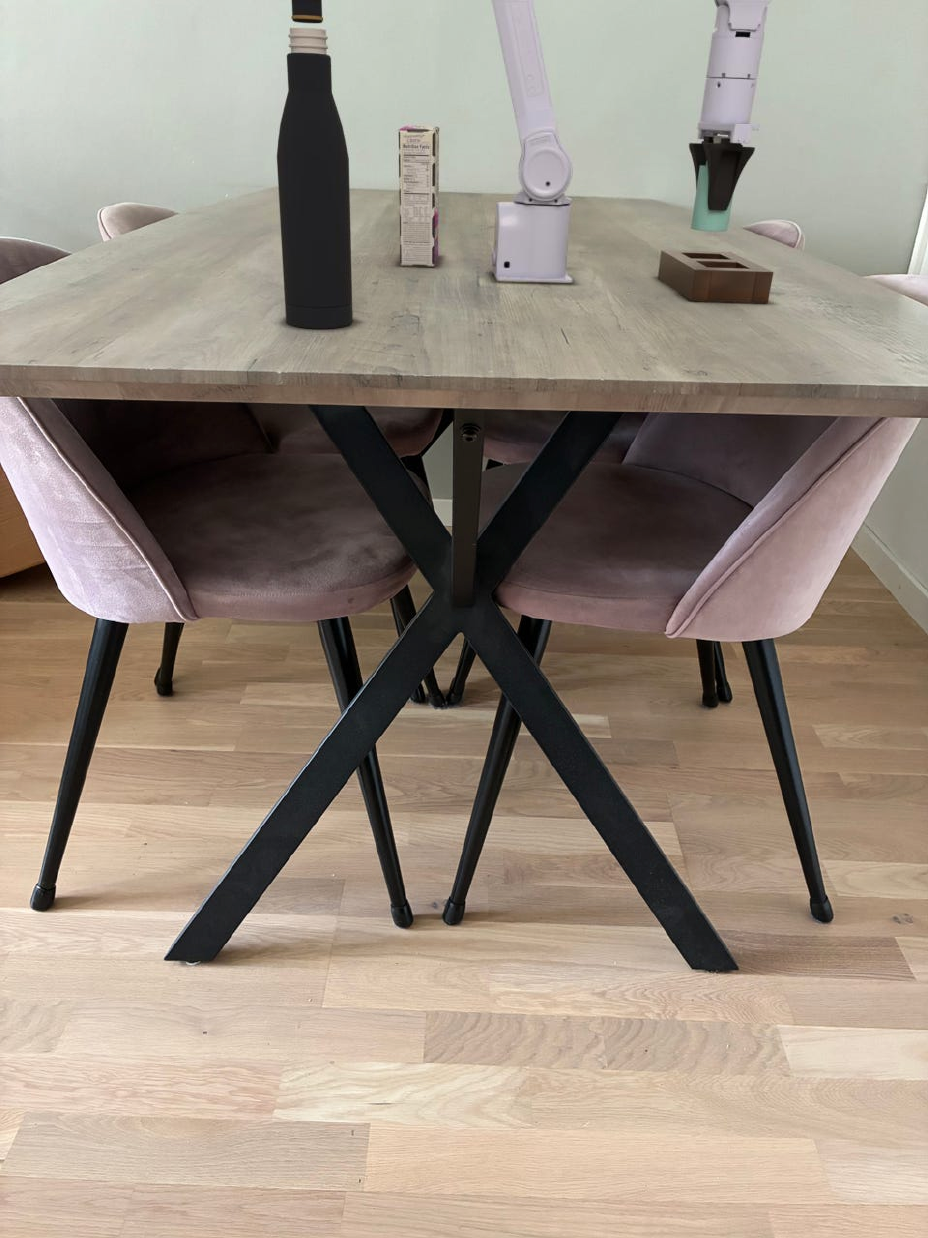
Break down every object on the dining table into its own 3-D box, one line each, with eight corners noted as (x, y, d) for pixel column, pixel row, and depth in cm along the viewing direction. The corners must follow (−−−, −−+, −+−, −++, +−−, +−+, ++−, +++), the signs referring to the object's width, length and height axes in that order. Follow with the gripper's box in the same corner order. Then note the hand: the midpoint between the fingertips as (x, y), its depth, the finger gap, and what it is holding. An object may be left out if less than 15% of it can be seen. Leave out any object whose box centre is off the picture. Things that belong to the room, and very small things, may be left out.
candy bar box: (403, 254, 132) (404, 124, 124) (438, 255, 132) (441, 126, 124) (397, 266, 122) (397, 126, 114) (435, 267, 122) (437, 127, 114)
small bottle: (696, 230, 112) (709, 137, 107) (687, 226, 115) (699, 136, 111) (731, 231, 112) (747, 139, 107) (721, 227, 116) (735, 137, 111)
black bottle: (340, 331, 87) (329, -63, 72) (276, 325, 88) (251, -63, 73) (360, 318, 92) (353, -50, 77) (299, 313, 93) (281, -51, 78)
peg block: (690, 301, 107) (695, 269, 105) (657, 277, 121) (661, 249, 120) (767, 303, 108) (773, 271, 106) (726, 279, 122) (730, 251, 120)
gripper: (787, 79, 100) (763, 215, 106) (745, 81, 112) (726, 203, 119) (723, 76, 99) (703, 213, 106) (688, 79, 112) (672, 201, 119)
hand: (711, 208), depth 112 cm, fingers closed on small bottle, 4 cm apart
